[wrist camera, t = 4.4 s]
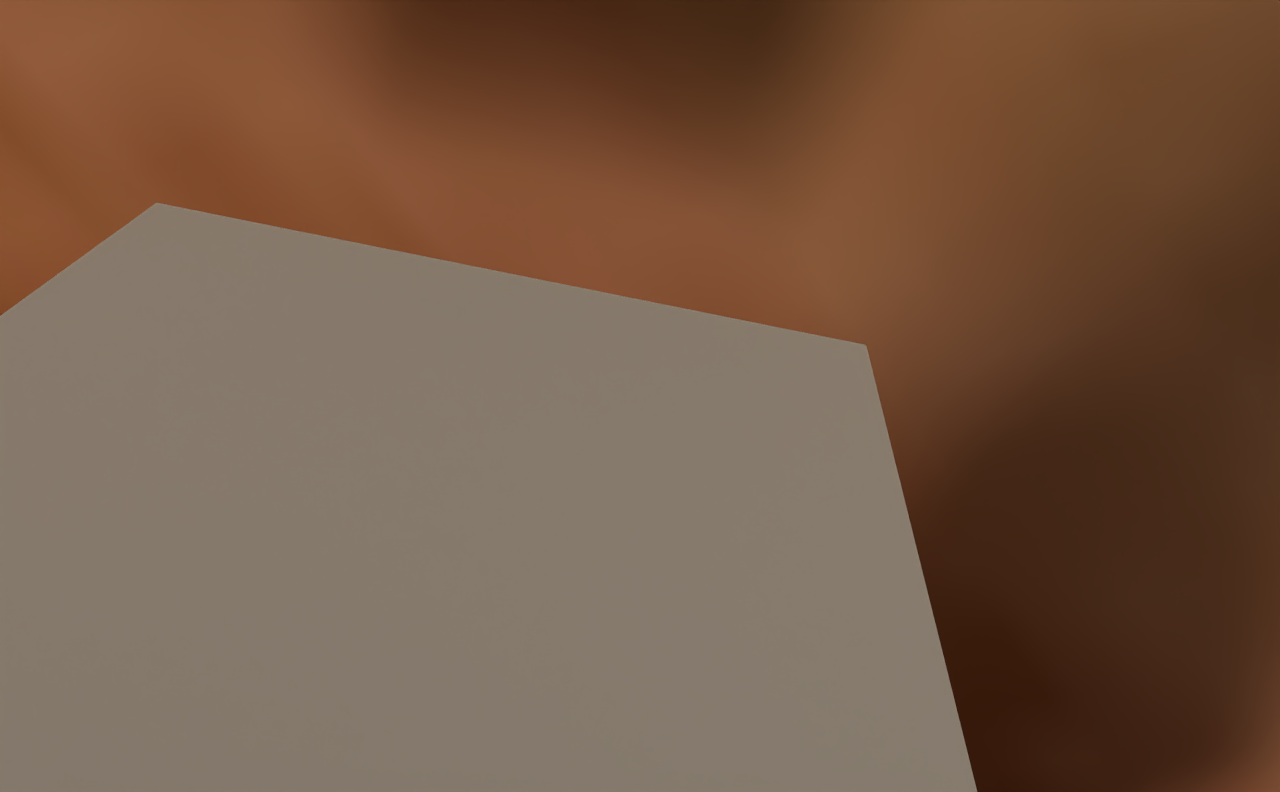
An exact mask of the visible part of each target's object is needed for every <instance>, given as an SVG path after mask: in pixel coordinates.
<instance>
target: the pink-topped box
mask: <svg viewBox="0 0 1280 792" xmlns="http://www.w3.org/2000/svg"><path fill="white" fill-rule="evenodd" d="M0 792H977V789H976V785H975V781H974V777H973V773H972V769H971V764H970V760H969V756H968V752H967V748H966V744H965V740H964V736H963V732H962V728H961V724H960V720H959V716H958V712H957V708H956V704H955V700H954V696H953V692H952V688H951V684H950V680H949V676H948V672H947V668H946V664H945V660H944V656H943V652H942V648H941V644H940V640H939V636H938V632H937V628H936V624H935V620H934V616H933V612H932V608H931V604H930V600H929V596H928V592H927V588H926V584H925V580H924V576H923V572H922V568H921V564H920V560H919V556H918V552H917V548H916V544H915V540H914V536H913V532H912V528H911V524H910V520H909V516H908V512H907V508H906V504H905V500H904V495H903V491H902V487H901V483H900V479H899V475H898V471H897V467H896V463H895V459H894V455H893V451H892V447H891V443H890V439H889V435H888V431H887V427H886V423H885V419H884V415H883V411H882V407H881V403H880V399H879V395H878V391H877V387H876V383H875V379H874V375H873V371H872V367H871V363H870V359H869V355H868V351H867V347H866V345H863V344H858V343H853V342H848V341H843V340H838V339H833V338H828V337H823V336H818V335H813V334H808V333H803V332H798V331H793V330H788V329H783V328H778V327H773V326H769V325H764V324H759V323H754V322H749V321H744V320H739V319H734V318H729V317H724V316H719V315H714V314H709V313H704V312H699V311H694V310H689V309H684V308H679V307H674V306H669V305H664V304H659V303H654V302H649V301H644V300H639V299H634V298H629V297H624V296H619V295H614V294H609V293H604V292H599V291H594V290H589V289H584V288H579V287H574V286H569V285H564V284H559V283H554V282H549V281H544V280H539V279H534V278H529V277H524V276H519V275H514V274H509V273H504V272H499V271H494V270H489V269H484V268H479V267H474V266H469V265H464V264H459V263H454V262H449V261H444V260H439V259H434V258H429V257H424V256H419V255H414V254H409V253H404V252H399V251H394V250H389V249H384V248H379V247H374V246H369V245H364V244H360V243H355V242H350V241H345V240H340V239H335V238H330V237H325V236H320V235H315V234H310V233H305V232H300V231H295V230H290V229H285V228H280V227H275V226H270V225H265V224H260V223H255V222H250V221H245V220H240V219H235V218H230V217H225V216H220V215H215V214H210V213H205V212H200V211H195V210H190V209H185V208H180V207H175V206H170V205H165V204H160V203H156V204H154V205H153V206H151V207H150V208H149V209H147V210H146V211H144V212H143V213H142V214H140V215H139V216H138V217H136V218H135V219H133V220H132V221H131V222H129V223H128V224H127V225H125V226H124V227H122V228H121V229H120V230H118V231H117V232H115V233H114V234H113V235H111V236H110V237H109V238H107V239H106V240H104V241H103V242H102V243H100V244H99V245H98V246H96V247H95V248H93V249H92V250H91V251H89V252H88V253H86V254H85V255H84V256H82V257H81V258H80V259H78V260H77V261H75V262H74V263H73V264H71V265H70V266H69V267H67V268H66V269H64V270H63V271H62V272H60V273H59V274H57V275H56V276H55V277H53V278H52V279H51V280H49V281H48V282H46V283H45V284H44V285H42V286H41V287H40V288H38V289H37V290H35V291H34V292H33V293H31V294H30V295H28V296H27V297H26V298H24V299H23V300H22V301H20V302H19V303H17V304H16V305H15V306H13V307H12V308H11V309H9V310H8V311H6V312H5V313H4V314H2V315H1V316H0Z"/></svg>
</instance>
